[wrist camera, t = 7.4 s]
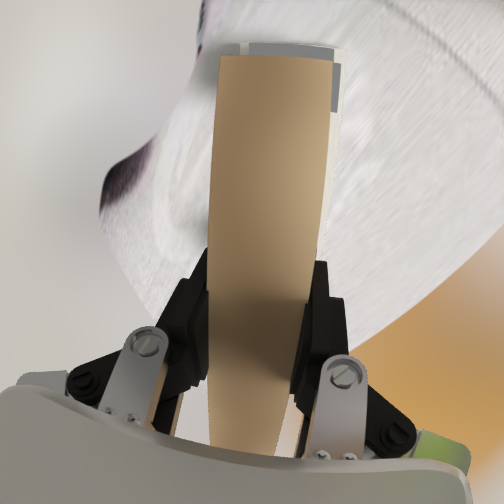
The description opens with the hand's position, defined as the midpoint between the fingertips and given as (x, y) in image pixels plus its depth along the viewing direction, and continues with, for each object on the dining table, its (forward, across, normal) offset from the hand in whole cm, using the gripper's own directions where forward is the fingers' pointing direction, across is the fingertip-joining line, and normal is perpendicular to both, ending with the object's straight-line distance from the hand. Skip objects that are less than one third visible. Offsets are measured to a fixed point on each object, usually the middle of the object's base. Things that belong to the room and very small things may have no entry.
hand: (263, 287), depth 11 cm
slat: (+1, 0, +1) cm, 2 cm away
